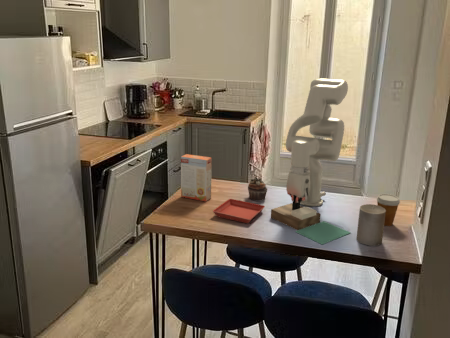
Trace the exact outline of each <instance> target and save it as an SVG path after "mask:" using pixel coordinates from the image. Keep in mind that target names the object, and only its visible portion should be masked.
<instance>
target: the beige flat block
mask: <svg viewBox="0 0 450 338" xmlns="http://www.w3.org/2000/svg"><path fill="white" fill-rule="evenodd" d="M316 213H318V211H317V210H316V209H313V208H312V207H310V206H303V207H302V208H299V209H296V210H293V211H292V212H291V215H292V216H294V217H297V218H299V219H301V220H303V219H306V218H309V217H312V216H315V215H316Z"/></svg>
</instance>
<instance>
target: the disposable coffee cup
mask: <svg viewBox="0 0 450 338" xmlns="http://www.w3.org/2000/svg"><path fill="white" fill-rule="evenodd" d="M376 201H377V204H376V205H378V206H381V207H383V208H384V209H385V210H386V213H385V222H384V227H391V226H393V225H394V221H395V218H396V214H397V211H398V208H399V205H400V203H401V201H400V197H398V196H396V195H394V194H390V193H389V194H388V193H381V194H378V195H377V197H376Z"/></svg>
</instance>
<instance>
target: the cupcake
mask: <svg viewBox="0 0 450 338" xmlns="http://www.w3.org/2000/svg"><path fill="white" fill-rule="evenodd" d="M247 185H248V186H247V190H248V196H249V199H251V200H253V201H263V200H266V196H267V192H268V188H267V185H266V183H265V182H264V180H263V179H262V178H258V177H254V178H252V179H251V178H250V181H249V183H248V184H247Z"/></svg>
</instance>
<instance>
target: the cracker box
mask: <svg viewBox="0 0 450 338" xmlns="http://www.w3.org/2000/svg"><path fill="white" fill-rule="evenodd" d="M212 159H213V158H212V157H211V156H210V157H209V156H204V155H203V156H202V155H196V154H188V153H185V154H184V155H181V156H180V195H181V196H180V197H181V198H184V197H185V198H186V199H191V200H197V201H202V202H208V201H209V200H210V199H212V170H213V169H212ZM185 198H184V199H185Z"/></svg>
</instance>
